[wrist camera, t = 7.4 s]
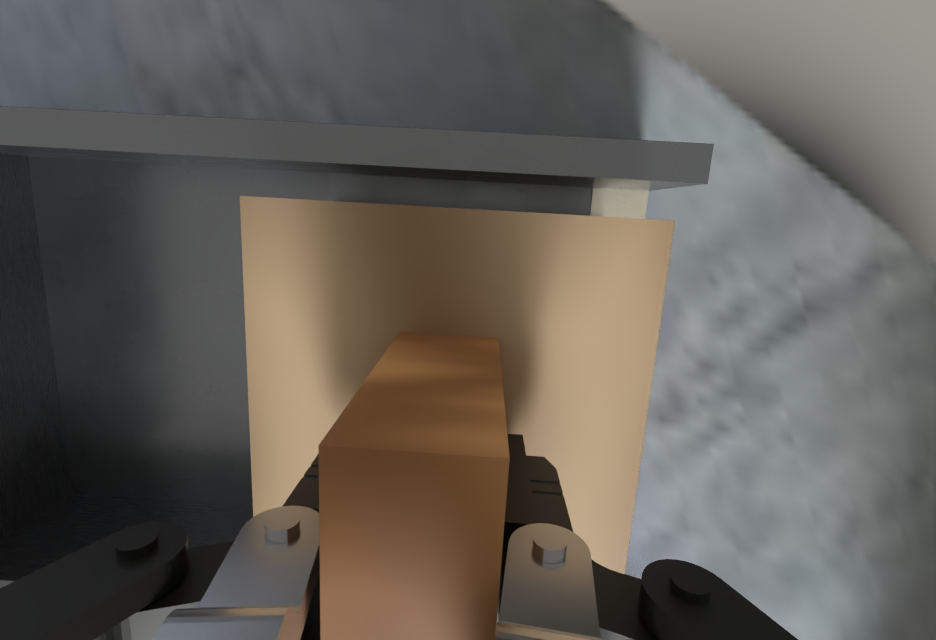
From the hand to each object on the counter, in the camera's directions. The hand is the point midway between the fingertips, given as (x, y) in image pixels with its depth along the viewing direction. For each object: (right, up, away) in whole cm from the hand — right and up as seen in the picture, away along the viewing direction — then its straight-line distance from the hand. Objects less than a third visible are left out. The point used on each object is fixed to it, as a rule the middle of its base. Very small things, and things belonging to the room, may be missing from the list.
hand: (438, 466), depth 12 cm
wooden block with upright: (0, +2, +8) cm, 8 cm away
